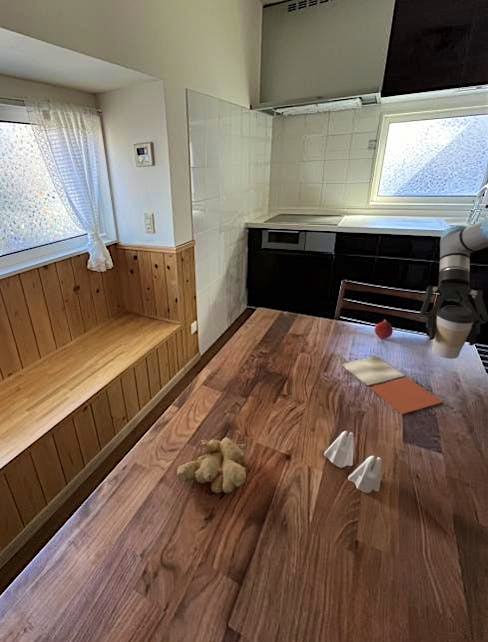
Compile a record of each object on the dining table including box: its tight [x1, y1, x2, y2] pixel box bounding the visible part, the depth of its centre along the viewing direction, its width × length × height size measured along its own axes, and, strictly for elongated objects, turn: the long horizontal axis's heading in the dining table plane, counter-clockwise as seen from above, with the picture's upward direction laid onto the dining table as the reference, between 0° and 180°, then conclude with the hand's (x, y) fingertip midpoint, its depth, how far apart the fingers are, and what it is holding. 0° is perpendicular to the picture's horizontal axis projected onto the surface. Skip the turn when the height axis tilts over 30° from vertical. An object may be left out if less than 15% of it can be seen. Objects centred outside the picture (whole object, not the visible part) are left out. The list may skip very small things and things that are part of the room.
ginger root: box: [176, 437, 248, 494], centre depth 78 cm, size 16×16×8 cm
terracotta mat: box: [369, 377, 444, 415], centre depth 99 cm, size 12×14×1 cm
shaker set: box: [323, 430, 383, 494], centre depth 74 cm, size 12×4×11 cm, turn 30°
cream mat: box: [341, 355, 406, 387], centre depth 110 cm, size 12×14×1 cm
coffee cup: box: [431, 304, 475, 360], centre depth 101 cm, size 9×9×15 cm
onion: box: [374, 319, 394, 340], centre depth 126 cm, size 6×6×8 cm
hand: (451, 341), depth 99 cm, fingers closed on coffee cup, 9 cm apart
